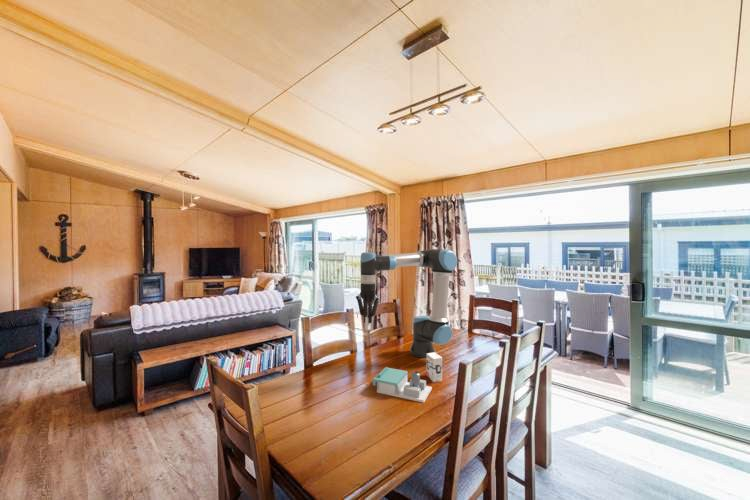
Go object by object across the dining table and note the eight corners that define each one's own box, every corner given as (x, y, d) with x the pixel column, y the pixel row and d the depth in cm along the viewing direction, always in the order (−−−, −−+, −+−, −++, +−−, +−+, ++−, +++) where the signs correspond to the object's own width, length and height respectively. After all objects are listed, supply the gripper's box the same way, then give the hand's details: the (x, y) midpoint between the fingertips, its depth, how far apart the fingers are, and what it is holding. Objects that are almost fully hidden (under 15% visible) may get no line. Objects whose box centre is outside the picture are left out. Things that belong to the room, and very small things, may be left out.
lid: (385, 373, 157) (385, 364, 157) (407, 377, 152) (407, 368, 152) (373, 385, 144) (373, 376, 144) (396, 390, 139) (396, 380, 139)
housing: (388, 380, 156) (388, 370, 156) (431, 388, 147) (432, 378, 147) (376, 392, 144) (376, 381, 143) (423, 402, 134) (423, 391, 134)
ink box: (425, 375, 162) (425, 352, 162) (434, 374, 164) (434, 351, 163) (433, 382, 154) (433, 358, 154) (442, 381, 156) (442, 357, 155)
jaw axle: (412, 390, 146) (412, 370, 146) (420, 391, 144) (420, 372, 144) (409, 393, 142) (409, 374, 142) (418, 395, 141) (418, 375, 141)
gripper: (353, 283, 158) (352, 329, 159) (376, 284, 153) (376, 332, 153) (359, 281, 165) (359, 326, 165) (382, 282, 160) (382, 329, 160)
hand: (367, 329), depth 159 cm, fingers closed
